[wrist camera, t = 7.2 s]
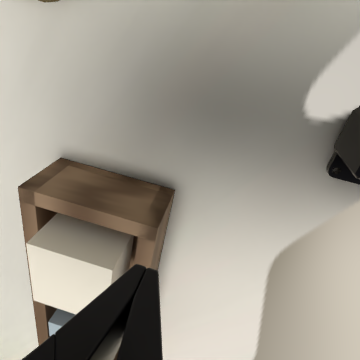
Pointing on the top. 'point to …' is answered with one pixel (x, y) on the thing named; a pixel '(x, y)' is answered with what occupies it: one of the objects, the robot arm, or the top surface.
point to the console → (95, 212)
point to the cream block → (75, 261)
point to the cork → (48, 0)
